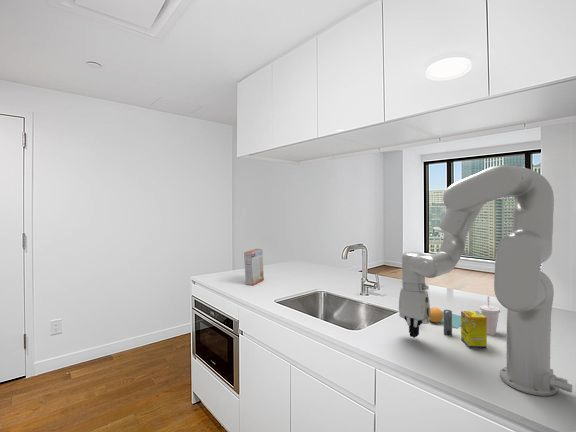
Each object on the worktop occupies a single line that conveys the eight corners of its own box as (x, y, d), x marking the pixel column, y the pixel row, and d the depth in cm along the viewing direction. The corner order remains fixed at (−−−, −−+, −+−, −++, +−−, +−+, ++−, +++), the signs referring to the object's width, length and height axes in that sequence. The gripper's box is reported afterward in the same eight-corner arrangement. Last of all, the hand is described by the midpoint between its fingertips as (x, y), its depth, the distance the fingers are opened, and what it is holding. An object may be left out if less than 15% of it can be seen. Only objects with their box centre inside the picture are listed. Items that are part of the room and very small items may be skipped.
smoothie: (475, 330, 120) (475, 294, 120) (491, 329, 121) (491, 293, 120) (487, 337, 114) (487, 299, 113) (504, 336, 114) (504, 298, 114)
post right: (453, 334, 117) (453, 310, 117) (450, 336, 115) (450, 312, 115) (445, 332, 119) (445, 309, 119) (442, 334, 117) (442, 311, 117)
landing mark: (470, 318, 131) (470, 318, 131) (457, 328, 122) (457, 327, 122) (436, 310, 142) (436, 310, 142) (422, 318, 133) (422, 318, 133)
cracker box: (256, 279, 208) (255, 248, 207) (264, 280, 206) (263, 248, 205) (244, 284, 196) (243, 251, 195) (253, 285, 193) (251, 252, 192)
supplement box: (460, 340, 112) (460, 310, 111) (478, 340, 111) (478, 310, 111) (468, 348, 106) (468, 316, 106) (487, 348, 106) (487, 317, 105)
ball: (441, 325, 125) (446, 321, 129) (439, 310, 125) (444, 306, 129) (426, 323, 129) (431, 319, 133) (424, 308, 129) (429, 305, 133)
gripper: (439, 288, 109) (439, 339, 110) (399, 280, 121) (400, 327, 122) (429, 292, 104) (429, 346, 105) (389, 284, 116) (389, 333, 117)
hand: (414, 335), depth 113 cm, fingers closed
